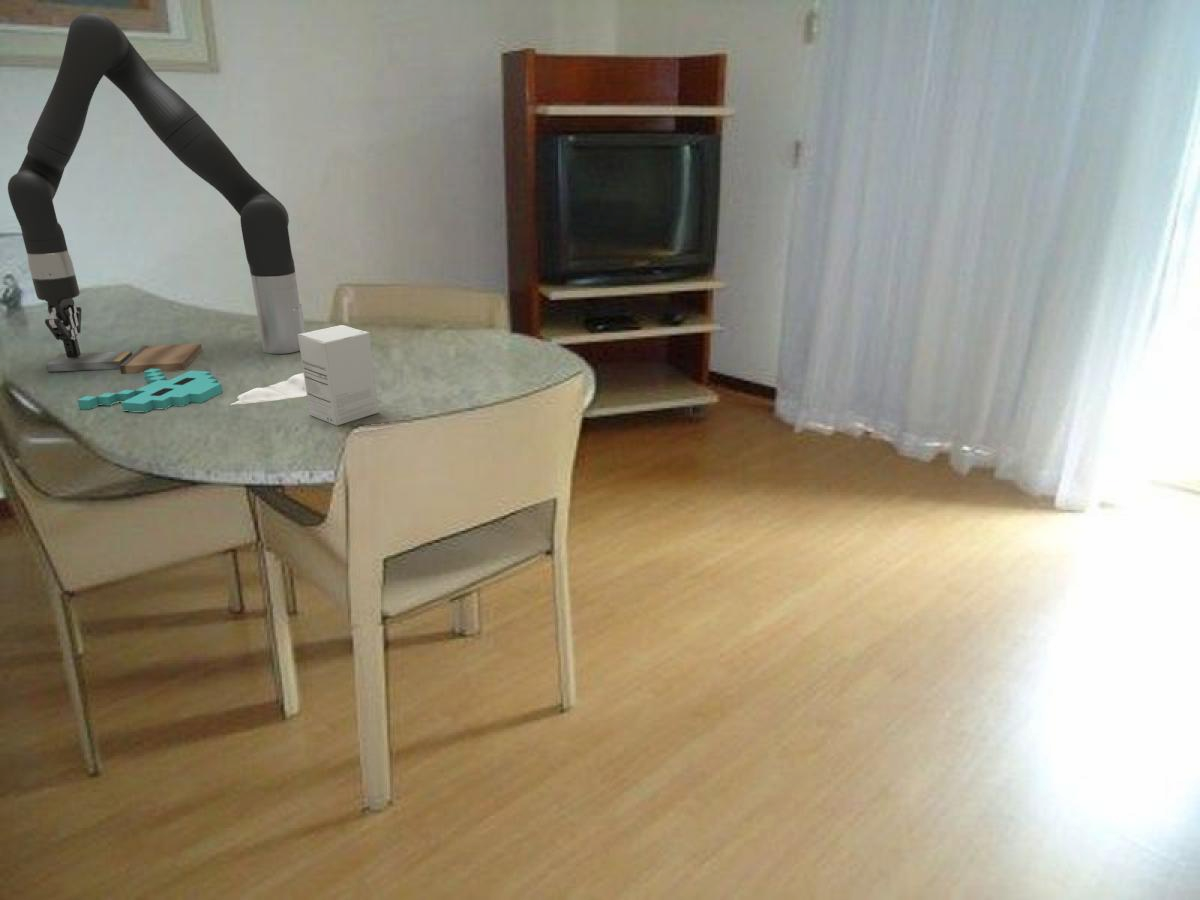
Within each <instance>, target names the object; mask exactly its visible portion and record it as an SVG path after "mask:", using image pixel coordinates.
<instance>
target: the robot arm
mask: <svg viewBox="0 0 1200 900" xmlns="http://www.w3.org/2000/svg"><path fill="white" fill-rule="evenodd" d="M68 28H69V29H68V33H67V36H66V41H65V47H64V51H63V54H62V55H63V56H62V60H61V63H60V67H59V68H58V73H57V76H56V79H55V81H54V84H53V87H52V88H51V92H50V94H49V97H48V98H47V101H46V103H45V105H44V106H43V109H42V112H41V113H40V115H39V118H38V119H37V122H36V124H35V127H34V128H33V131H32V133H31V136H30V138H29V141H28V144H27V146H26V147H27V149H26V150H27V152H26V154H25V156H24V159H23V161H22V163H21V164H20V167H19V169H18V172H17V173H15V174H13V176H11V177H10V178H9V180H8V182H7V183H8V184H7V193H8V197H9V201H10V204H11V206H12V209H13V212H14V214H15V216H16V219H17V221H18V224H19V226H20V229H21V235H22V239H23V243H24V246H25V252H26V255H27V263H28V268H29V272H30V277H31V279H32V283H33V288H34V291H35V294H36V298H37V300H39V301H40V300H41V301H45V302H47V313H48V317H49V318H45V320H44V323H45V325H46V327H47V328H48V329H49V331H50V333H52V335H53V337H54V338H55V340H58V341H59V340H60V341H62V343H63V347H64V351H65V354H66V355H67V357H68V358H77V357H78V356H80V355H81V353H82V352H81V350H80V346H79V342H78V338H79V334H81V332H82V329H81V328H82V311H83V310H82V307H81V306H77V305H76V304H75V301H74V298H77V297H79V295H80V294H81V293H80V288H79V285H78V280H77V276H76V272H75V268H74V264H73V260H72V258H71V255H70V254H69V249H68V246H67V243H66V238H65V233H64V231H63V228H62V226H61V224H60V223H59V221H58V218H57V215H56V214H57V213H56V210H55V206H54V201H53V200H54V198H55V195H56V194H57V192H58V189H59V186H60V184H61V180H62V177H63V175H64V172H65V168H66V167H67V165H68V163H69V162H70V160H71V158H72V156H73V154H74V152H75V149H76V148H77V145H78V143H79V141H80V139H81V136H82V133H83V129H84V126H85V123H86V119H87V114H88V112H89V108H90V104H91V102H92V98H93V95H94V93H95V91H96V89H97V87H98V85H99V83H100V82H101V79H102V78H103V77H104V76H105V77H106V79H108V80H109V81H110V82H111V83H112V84H113V85H114V86H115V87H116V88H118V90H120V92H122V93H123V94H124V95H125V97H127V99H128V100H129V101H130V102H131V103H132V105H133V106H134V107H135V109H136V110H137V112H138V113H139V115H140V116H141V117H142V119H143V120H144V122H145V123H146V124H147V125H148V127H149V128H150V129H151V130H152V132H153V133H154V134H155V135H156V137H157V138H158V139H159V140H160V141H161V142H162V144H164V145H165V146H166V148H167V149H168V150H169V151H171V153H172V154H173V155H174V156H175V157H176V158H177V159H178V160H179V161H180V162H181V163H183V165H185V166H186V167H187V168H188V169H190V171H192V172H193V173H194V174H196V176H198V177H200V178H201V179H202V180H203V181H205V182H206V183H208V185H210V186H211V187H213V188H214V189H215V190H217V191H218V192H219V193H220V194H221V195H222V196H223V197H224V198H225V200H227V202H228V203H229V204H230V205H231V207H233V209H235V211H236V213H238V215H239V216H240V217H239V218H240V220H239V221H240V227H241V229H240V230H241V234H242V240H243V244H244V245H243V246H244V250H245V256H246V261H247V264H248V266H249V268H248V269H249V272H250V277H251V283H252V291H253V296H254V301H255V310H256V316H257V322H258V328H259V334H260V341H261V346H262V351H263V352H264V353H266V354H272V355H273V354H274V355H278V354H279V355H280V354H281V355H282V354H292V353H296V352H300V346H299V340H298V334H301V333H306V332H307V331H306V326H305V319H304V311H303V305H302V304H301V303H300V298H299V289H298V282H297V277H296V276H297V275H296V270H295V269H296V266H295V261H294V257H293V252H292V248H291V240H290V239H291V238H290V233H289V223H290V222H289V221H290V219H289V213H288V211H287V209H286V207H285V205H283V203H281V201H280V200H278V199H277V198H276V197H275V196H274V195H272V194H271V193H270V192H269V191H268V190H267V189H266V188H265V187H264V186H263V185H262V184H261V183H259V182H258V181H257V180H256V179H255V178H254V177H253V176H252V175H251V174H250V173H249V172H248V171H247V170H246V169H245V168H244V166H243V165H242V164H241V163H240V161H239V160H238V159H237V158H236V156H235V155H234V154H233V152H232V151H231V150H230V149H229V147H228V145H226V144H225V142H224V141H223V140H222V139H221V138H220V137H219V135H218V134H217V133H216V132H215V131H214V130H213V128H212V127H211V126H210V125H209V124H208V123H207V122H206V120H204V119H203V118H202V116H201V115H199V113H198V112H197V111H196V110H195V109H194V108H193V107H192V106H191V105H190V104H189V102H187V101H186V100H185V99H184V98H183V97H181V96H180V94H178V93H177V92H176V91H175V90H174V89H172V88H171V87H170V86H169V85H168V84H167V83H166V82H164V80H162V79H161V77H159V76H158V75H157V74H156V73H155V72H154V70H152V68H151V67H150V66H149V65H148V63H147V62H146V61H145V60H144V58H143V57H142V56H141V55H140V53H139V52H138V51H137V49H136V48H135V47H134V45H133V44H132V43H131V42H130V39H128V37H127V35H126V34H125V32H124V31H123V30H122V29H121V28H120V27H119V26H118V25H117V24H116V23H115V22H114V21H113V20H111V19H110V18H108V17H106V16H105V15H103V14H101V13H96V12H84V13H80V14H78V15H77V16H76V17H74V19H73V20H72V21H71V22H70V25H69V27H68Z"/></svg>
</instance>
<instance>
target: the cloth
mask: <svg viewBox="0 0 1200 900" xmlns="http://www.w3.org/2000/svg"><path fill="white" fill-rule="evenodd" d="M302 397H307V393H306V386H305V379H304V373H303V372H301V373H297V374H294V375H292V376H291V377H289V378H288V379H287V380H283V381H279V382H277V383H275V384H270V385H269V386H265V387H254V388H253V389H250V390H248V391H246V392H243V393H241V394H239V395H238V396H237V401H235V402H233V403H230V404H229V406H234V405H235V406H237V405H245V404H254V403H255V404H256V403H264V402H271V401H273V402H274V401H281V400H282V401H283V400H287V399H292V398H293V399H294V398H302Z"/></svg>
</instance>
